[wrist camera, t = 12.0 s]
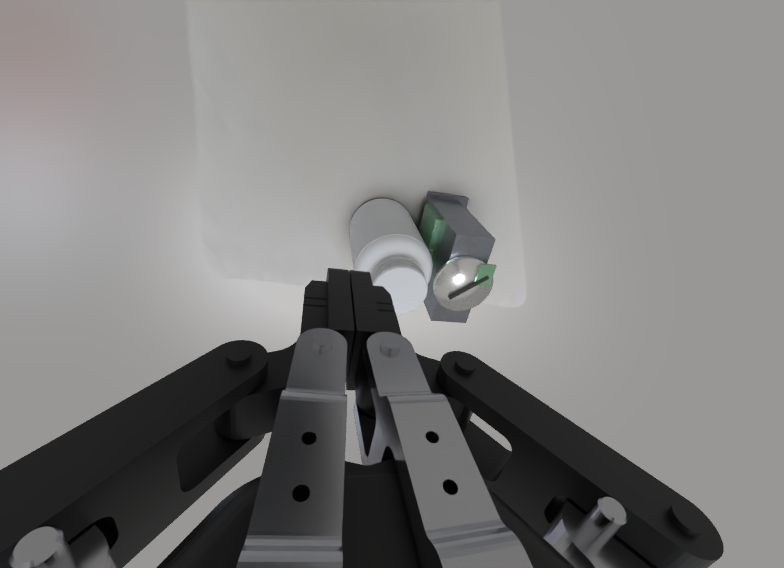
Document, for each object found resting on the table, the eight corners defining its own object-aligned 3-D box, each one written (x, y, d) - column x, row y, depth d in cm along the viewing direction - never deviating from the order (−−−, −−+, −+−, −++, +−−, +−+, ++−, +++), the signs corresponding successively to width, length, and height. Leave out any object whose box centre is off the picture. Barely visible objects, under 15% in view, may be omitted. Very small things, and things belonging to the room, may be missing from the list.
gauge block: (402, 269, 49) (423, 329, 38) (420, 190, 44) (451, 232, 33) (443, 273, 50) (476, 333, 39) (466, 196, 45) (511, 240, 34)
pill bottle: (342, 249, 46) (347, 320, 34) (358, 189, 43) (370, 242, 30) (400, 262, 49) (426, 332, 36) (420, 205, 45) (457, 262, 32)
